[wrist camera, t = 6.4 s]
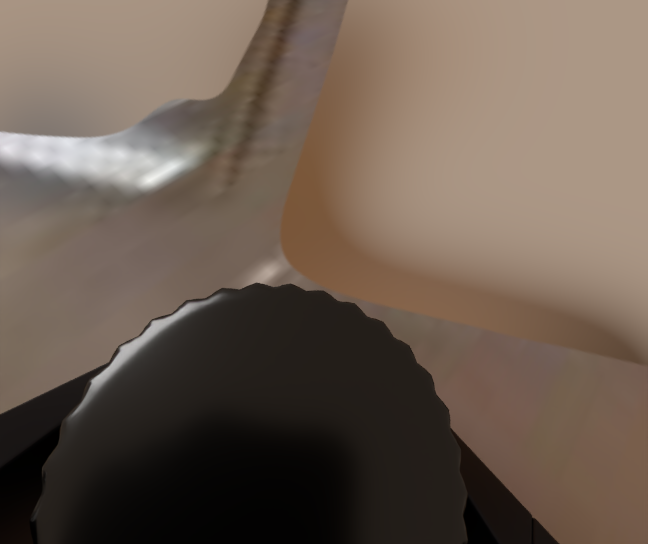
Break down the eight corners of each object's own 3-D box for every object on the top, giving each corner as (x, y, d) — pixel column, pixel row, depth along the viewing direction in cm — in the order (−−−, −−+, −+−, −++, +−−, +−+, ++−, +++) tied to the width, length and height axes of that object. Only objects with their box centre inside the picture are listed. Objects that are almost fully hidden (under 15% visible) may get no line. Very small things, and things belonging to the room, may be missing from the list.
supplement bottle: (380, 421, 16) (649, 453, 5) (272, 571, 13) (288, 1442, 2) (268, 318, 17) (264, 136, 5) (148, 440, 14) (-300, 558, 3)
